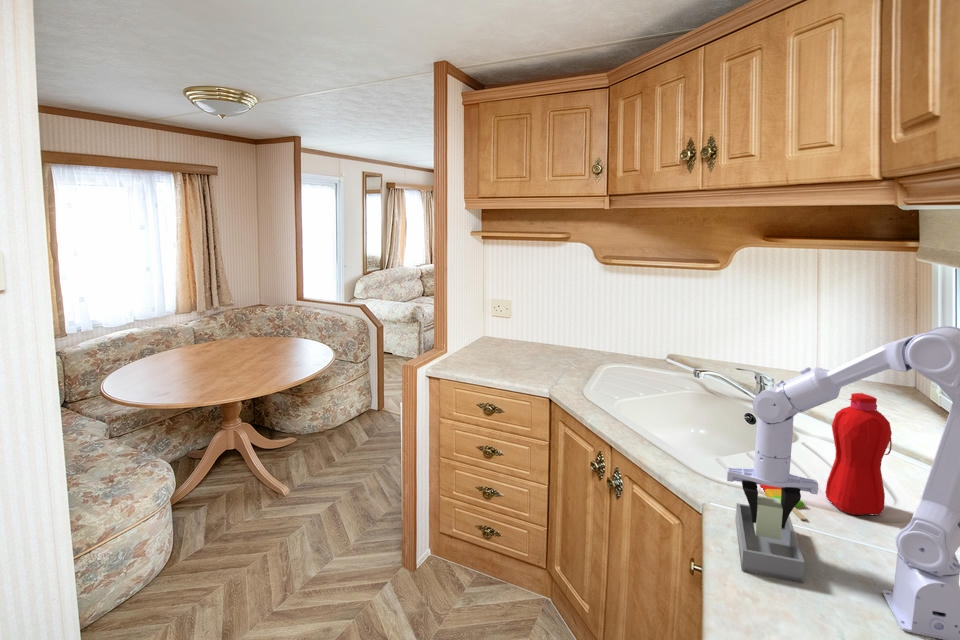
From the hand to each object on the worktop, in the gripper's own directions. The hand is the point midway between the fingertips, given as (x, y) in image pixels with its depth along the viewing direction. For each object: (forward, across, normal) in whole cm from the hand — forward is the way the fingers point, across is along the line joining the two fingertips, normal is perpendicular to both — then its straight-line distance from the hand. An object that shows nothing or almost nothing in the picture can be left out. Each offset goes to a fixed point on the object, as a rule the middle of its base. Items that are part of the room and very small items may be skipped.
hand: (767, 522), depth 97 cm
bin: (+5, 0, 0) cm, 5 cm away
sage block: (+2, 0, 0) cm, 2 cm away
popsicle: (+6, -6, -21) cm, 23 cm away
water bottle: (+5, -20, -25) cm, 32 cm away
